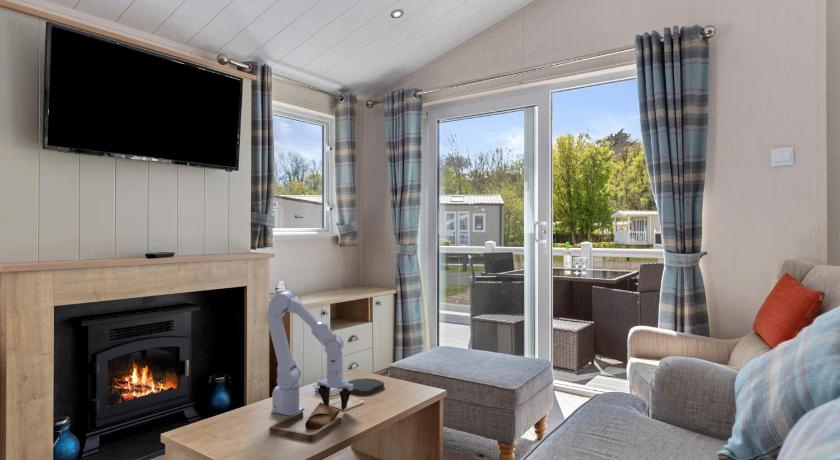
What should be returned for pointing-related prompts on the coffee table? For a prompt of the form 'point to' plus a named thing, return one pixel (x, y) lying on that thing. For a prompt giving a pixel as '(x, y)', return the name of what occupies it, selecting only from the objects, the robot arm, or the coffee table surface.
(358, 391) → the media streaming box
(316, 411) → the sunglasses case
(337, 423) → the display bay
